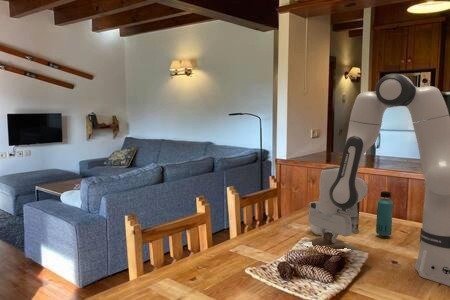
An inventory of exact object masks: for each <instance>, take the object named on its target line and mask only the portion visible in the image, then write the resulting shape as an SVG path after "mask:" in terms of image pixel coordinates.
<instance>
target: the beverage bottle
mask: <svg viewBox="0 0 450 300" xmlns="http://www.w3.org/2000/svg"><path fill="white" fill-rule="evenodd" d="M391 193H392V192H390V191H384V190H383V191H382V190H381V192H380V196H379V197H381V198H380V199H378V200H377V206H376V207H377V208H376V219H375V220H376V223H375V224H376V225H375V232H376V234H377V235H379V236H382V237H383V236H386V237H387V236H392V232H393V231H392V229H393V228H392V227H393V209H394V207H393V206H394V202H393V200H391V199H389V198H391V197H392V194H391Z"/></svg>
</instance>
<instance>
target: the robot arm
mask: <svg viewBox="0 0 450 300" xmlns="http://www.w3.org/2000/svg"><path fill="white" fill-rule="evenodd" d="M395 107H406V108H407V110H408V111H409V114H410V117H411V121H412V125H413V129H414V130H413V131H414V134H415V138H416V143H417V147H418V152H419V159H420V163H421V165H420V166H421V169H422V174H423V179H424V183H425V188H424V189H425V190H424V201H423V209H422V211H423V212H422V224H421V225H422V226H421V228H420V234H419V241H420V244H419V246H420V247H419V252H418V255H417V258H416V262H415V264H414V269H415V270H416V271H417V272H418V276H419V277H420V278H423V279H426V280H429V281H432V282H435V283H438V284H441V285H445V286H448V287H450V114H449V113H450V112H449V109H448V106H447V104H446V101H445V99H444V97H443V94H442V93H441V91H440V89H439V88H438V87H436V86H432V85H431V86H430V85H425V86H420V87H418V86H416V85H415V83H414V82H413V80H412V79H410V78H409V77H408V76H406V75H403V74H400V73H389V74H386V75H384V76H382V77H381V78H380V79H379V80H378V82H377V84H376V86H375V91H364V92H360V93H359V94H358V95H357V96H356V98H355V100H354V103H353V105H352V109H351V113H350V118H349V122H348V129H347V135H346V141H345V144H344V149H343V152H342V156H341V160H340V163H339V166H337V165H335V166H328V167H325V168H323V169H322V170H321V171H320V175H319V181H318V182H319V184H318V185H319V186H318V188H319V197H318V200H317V201H311V202H308V203H309V204H308V206H309V210H308V222H309V225H310V224H313V225H315V226H318V227H320V231H321V234H322V236H321V238H322V239H323V235H324V233H326V231H325V230H328V231H331V233H332V234H333V237H331V238H330V242H332V243H335V242H336V239H337V238H338V236H342V237H349V236H351V235H352V234H353V233H352V224H351V216H350V215H349V214H348V212H345V211H342V210H341V209H349V208H351V207H353V206H354V205H355V204H356V203H357V202H359V201H363V199H365V198H366V197H367V195H368V194H369V186H368V184H367V182H366V180H364V179H363V178H361V177H360V176H358V172H359V168H360V164H361V161H362V158H363V156H364V155H365V153H366V152H368V151H369V149H370V148H371V147H372V146H373V145H374V144H376V142H377V140H378V138H379V135H380V132H381V129H382V128H381V127H382V122H383V118H384V117H383V116H384V113H385V111H386V110H387V109H390V108H395Z"/></svg>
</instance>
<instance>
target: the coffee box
mask: <svg viewBox="0 0 450 300" xmlns="http://www.w3.org/2000/svg"><path fill="white" fill-rule="evenodd" d="M360 203H361V202H360V201H359V202H357V203H356V204H355V205H354V206H353V207H351V208H349V209H341V210H342V211H345V212H348V214H349V215H350V216H351V224H352V234H359V222H360V221H359V220H360Z"/></svg>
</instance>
